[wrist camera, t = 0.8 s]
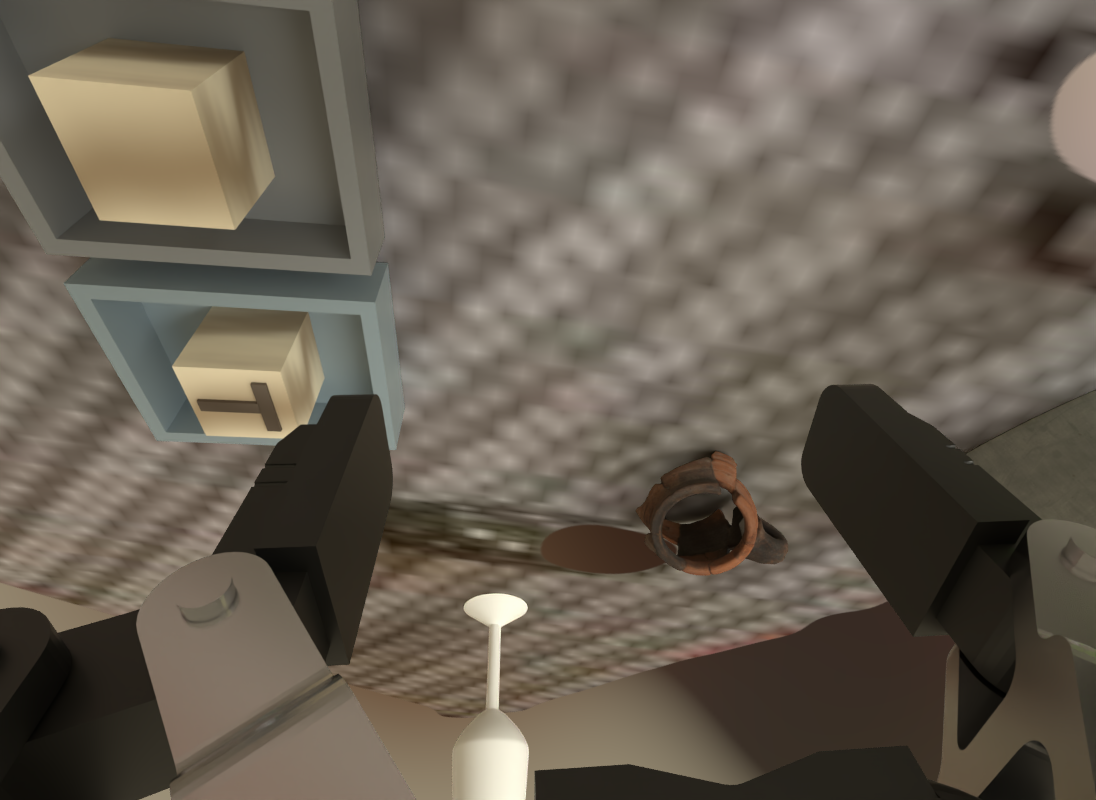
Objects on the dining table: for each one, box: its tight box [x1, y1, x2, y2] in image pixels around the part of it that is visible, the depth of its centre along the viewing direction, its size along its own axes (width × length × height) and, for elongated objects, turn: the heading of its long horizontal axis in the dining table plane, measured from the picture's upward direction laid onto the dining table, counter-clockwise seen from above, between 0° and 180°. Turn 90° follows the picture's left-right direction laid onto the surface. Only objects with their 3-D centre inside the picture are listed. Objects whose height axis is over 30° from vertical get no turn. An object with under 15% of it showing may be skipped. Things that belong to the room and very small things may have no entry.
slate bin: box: [64, 257, 405, 450], centre depth 31 cm, size 11×14×4 cm
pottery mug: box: [636, 451, 788, 575], centre depth 43 cm, size 12×10×8 cm
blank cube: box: [28, 38, 275, 230], centre depth 22 cm, size 5×5×5 cm
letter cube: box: [172, 306, 324, 439], centre depth 30 cm, size 5×5×5 cm
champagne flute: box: [452, 594, 529, 800], centre depth 50 cm, size 7×7×24 cm
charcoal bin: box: [0, 0, 385, 276], centre depth 23 cm, size 11×14×4 cm
